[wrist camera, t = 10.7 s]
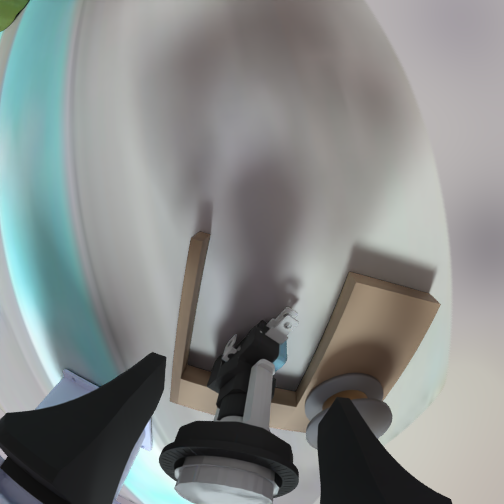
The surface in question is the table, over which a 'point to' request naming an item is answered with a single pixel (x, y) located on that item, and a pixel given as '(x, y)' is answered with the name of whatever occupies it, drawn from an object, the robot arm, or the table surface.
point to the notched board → (322, 351)
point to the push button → (238, 427)
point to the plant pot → (9, 11)
